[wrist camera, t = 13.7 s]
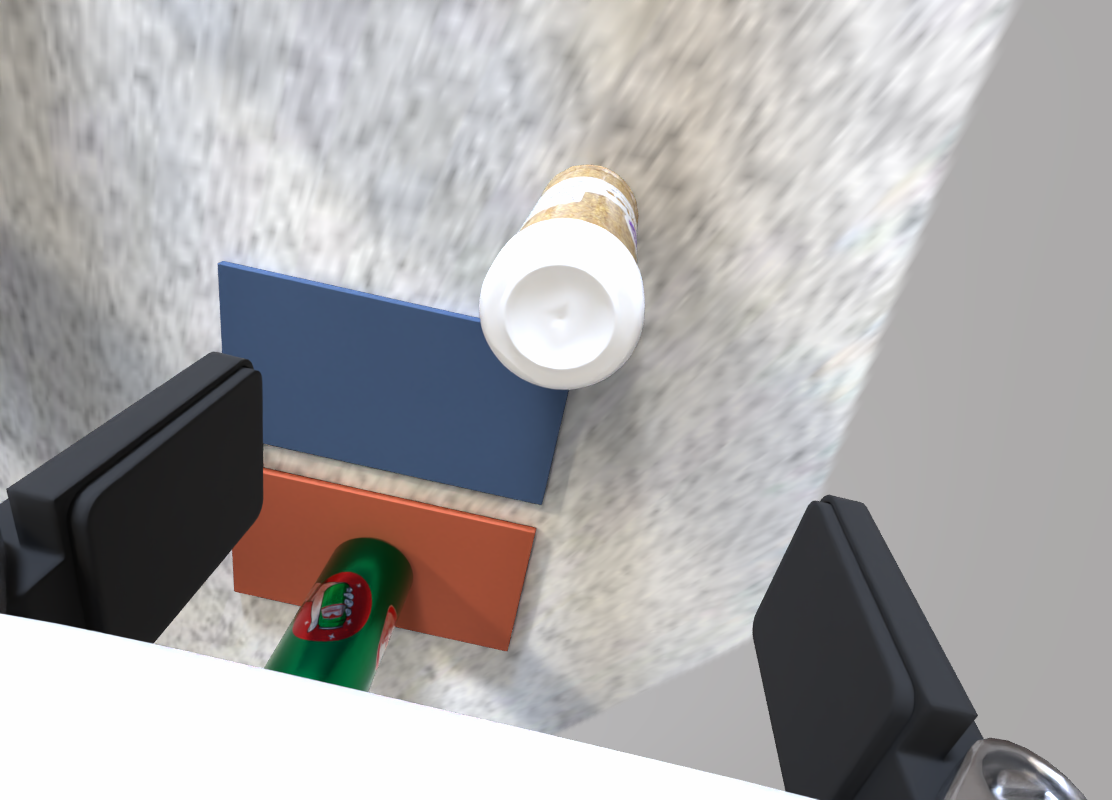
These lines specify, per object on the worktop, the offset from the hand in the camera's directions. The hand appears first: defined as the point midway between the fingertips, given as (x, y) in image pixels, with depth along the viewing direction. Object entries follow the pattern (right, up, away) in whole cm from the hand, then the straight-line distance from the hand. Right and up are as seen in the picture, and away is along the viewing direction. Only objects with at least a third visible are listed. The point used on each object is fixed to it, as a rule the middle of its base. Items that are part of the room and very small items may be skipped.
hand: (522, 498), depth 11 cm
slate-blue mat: (-8, +2, +23) cm, 25 cm away
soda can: (-10, -8, +29) cm, 32 cm away
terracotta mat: (-10, -8, +29) cm, 32 cm away
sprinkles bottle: (+2, +10, +18) cm, 21 cm away
